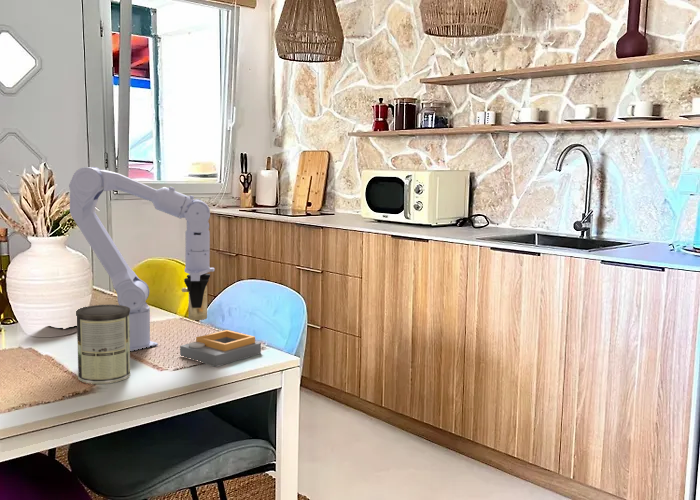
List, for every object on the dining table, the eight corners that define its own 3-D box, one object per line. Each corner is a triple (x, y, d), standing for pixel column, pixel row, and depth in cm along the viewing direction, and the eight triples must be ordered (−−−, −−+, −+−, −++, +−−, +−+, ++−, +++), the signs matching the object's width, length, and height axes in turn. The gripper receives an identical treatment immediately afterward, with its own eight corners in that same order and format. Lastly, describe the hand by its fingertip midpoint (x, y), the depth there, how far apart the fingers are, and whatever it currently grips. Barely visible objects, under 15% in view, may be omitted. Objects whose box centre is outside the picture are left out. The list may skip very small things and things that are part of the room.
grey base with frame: (215, 366, 145) (215, 348, 144) (180, 356, 152) (180, 339, 151) (260, 353, 156) (260, 336, 156) (225, 344, 163) (225, 328, 163)
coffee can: (67, 376, 136) (66, 309, 134) (113, 366, 143) (112, 302, 142) (94, 388, 129) (93, 317, 127) (140, 376, 137) (140, 309, 135)
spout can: (207, 316, 164) (207, 284, 163) (206, 320, 160) (206, 287, 159) (182, 316, 163) (182, 284, 162) (180, 320, 159) (180, 287, 158)
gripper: (212, 254, 153) (212, 311, 155) (215, 246, 167) (215, 299, 169) (181, 254, 152) (181, 311, 154) (187, 246, 166) (187, 299, 168)
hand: (197, 305), depth 161 cm, fingers closed on spout can, 4 cm apart
